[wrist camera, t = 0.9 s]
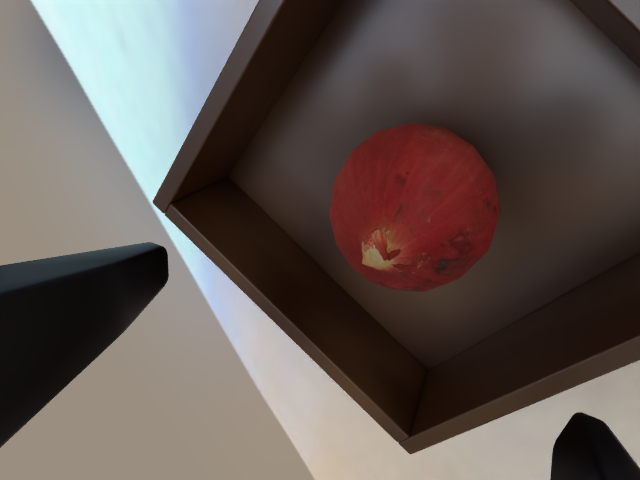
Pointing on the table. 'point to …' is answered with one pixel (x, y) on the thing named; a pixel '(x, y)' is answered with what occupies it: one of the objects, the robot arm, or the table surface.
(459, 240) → the onion
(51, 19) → the table surface
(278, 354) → the table surface
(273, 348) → the table surface
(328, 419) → the table surface
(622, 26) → the open wooden box
